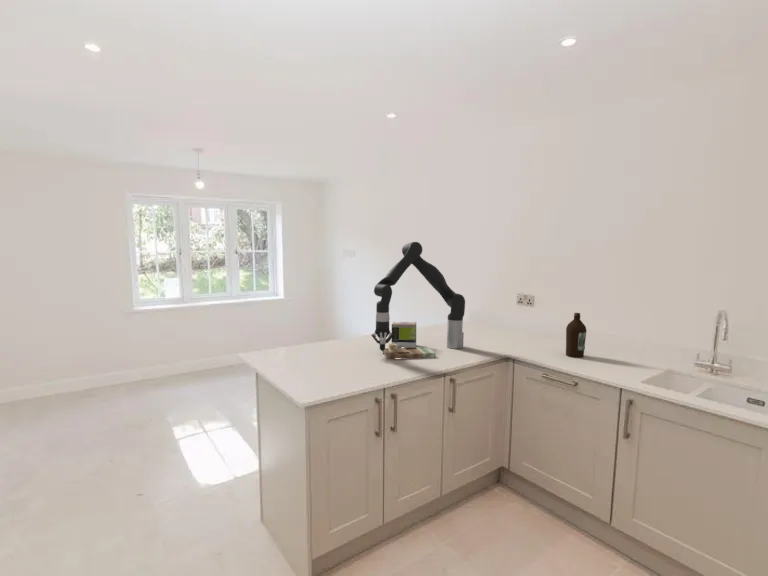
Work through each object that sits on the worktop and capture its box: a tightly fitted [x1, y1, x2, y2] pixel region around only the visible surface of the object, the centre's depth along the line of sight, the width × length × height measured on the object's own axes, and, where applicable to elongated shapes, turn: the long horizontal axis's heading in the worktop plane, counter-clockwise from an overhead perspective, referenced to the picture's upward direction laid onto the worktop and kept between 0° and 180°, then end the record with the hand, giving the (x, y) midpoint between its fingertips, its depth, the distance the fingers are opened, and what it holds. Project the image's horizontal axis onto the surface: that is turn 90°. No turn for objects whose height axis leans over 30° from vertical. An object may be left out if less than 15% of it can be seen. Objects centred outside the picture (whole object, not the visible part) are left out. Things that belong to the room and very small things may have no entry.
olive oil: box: [565, 312, 587, 359], centre depth 243 cm, size 11×11×25 cm
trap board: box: [381, 346, 436, 360], centre depth 241 cm, size 27×15×2 cm, turn 104°
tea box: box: [391, 321, 417, 348], centre depth 261 cm, size 15×10×15 cm, turn 84°
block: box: [388, 343, 398, 352], centre depth 238 cm, size 4×4×4 cm
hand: (382, 350), depth 237 cm, fingers closed
